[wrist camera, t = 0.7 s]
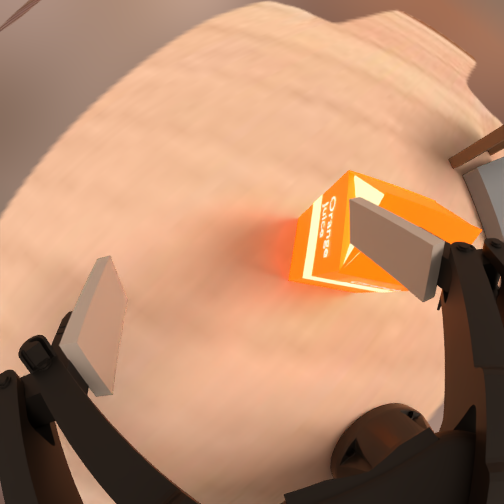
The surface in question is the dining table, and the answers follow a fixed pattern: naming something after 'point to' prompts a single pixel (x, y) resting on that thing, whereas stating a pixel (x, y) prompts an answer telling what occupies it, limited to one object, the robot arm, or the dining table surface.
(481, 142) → the awning
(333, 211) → the orange juice
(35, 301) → the dining table surface
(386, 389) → the dining table surface
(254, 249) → the dining table surface
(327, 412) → the dining table surface
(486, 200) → the socket block
